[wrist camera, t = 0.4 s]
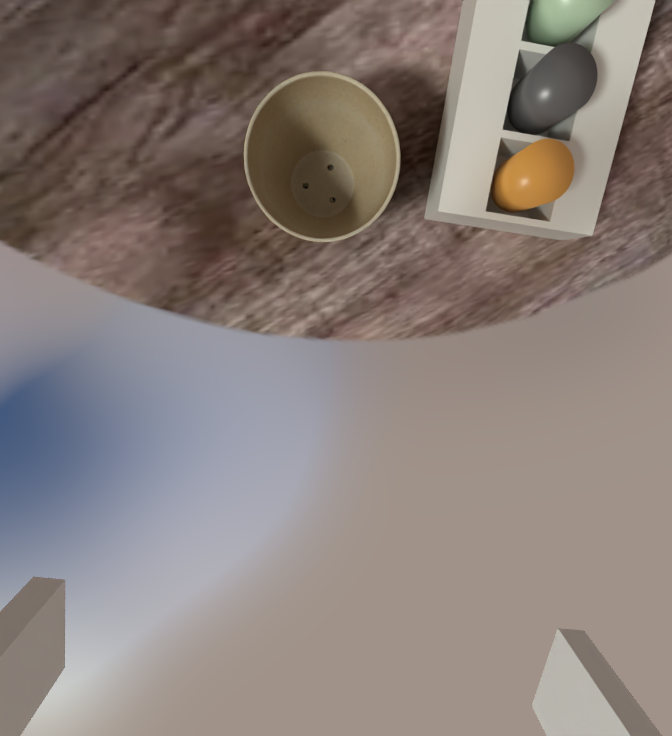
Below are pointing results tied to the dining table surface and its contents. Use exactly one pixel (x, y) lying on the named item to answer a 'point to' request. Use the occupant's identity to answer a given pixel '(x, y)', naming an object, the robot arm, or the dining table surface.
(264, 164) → the flower pot
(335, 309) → the dining table surface
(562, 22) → the green button
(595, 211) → the white compartment box
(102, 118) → the dining table surface
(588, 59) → the black button
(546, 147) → the orange rounded piece
